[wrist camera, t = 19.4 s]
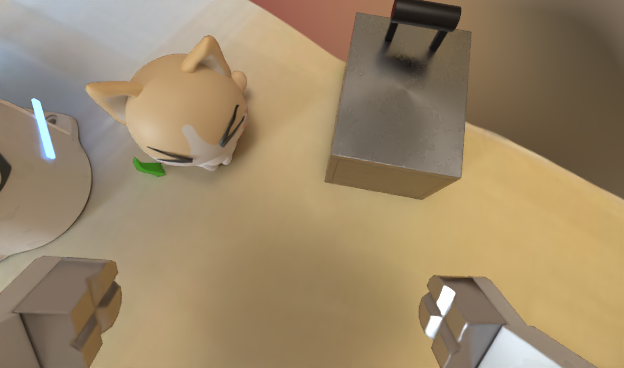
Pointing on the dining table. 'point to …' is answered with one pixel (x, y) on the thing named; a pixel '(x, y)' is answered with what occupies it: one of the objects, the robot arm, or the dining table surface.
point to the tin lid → (406, 90)
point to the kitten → (180, 108)
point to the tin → (381, 176)
